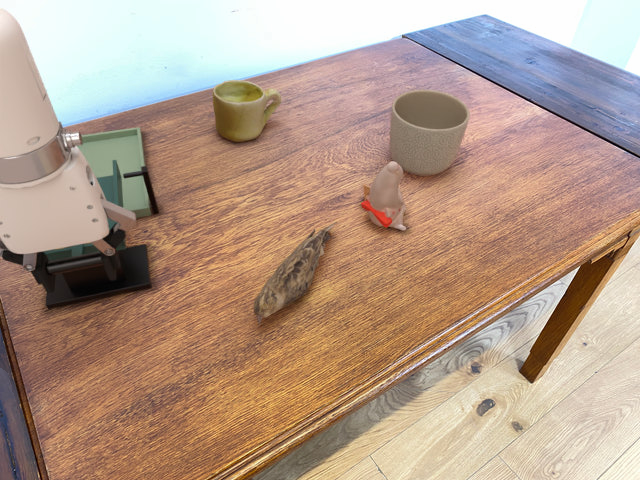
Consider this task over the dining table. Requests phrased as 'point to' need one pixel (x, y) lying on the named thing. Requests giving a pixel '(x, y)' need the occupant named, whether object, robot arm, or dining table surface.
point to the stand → (96, 280)
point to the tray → (120, 163)
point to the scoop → (88, 253)
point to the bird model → (292, 276)
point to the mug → (242, 109)
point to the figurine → (386, 198)
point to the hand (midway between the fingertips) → (82, 276)
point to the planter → (427, 130)
